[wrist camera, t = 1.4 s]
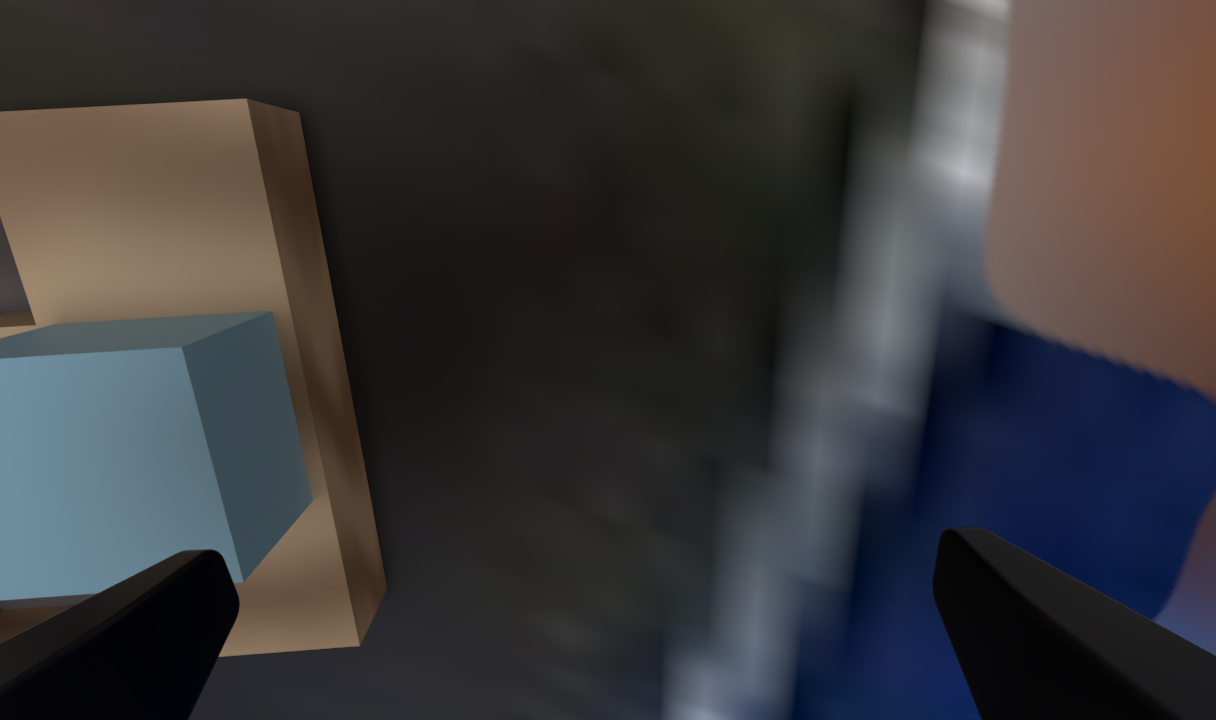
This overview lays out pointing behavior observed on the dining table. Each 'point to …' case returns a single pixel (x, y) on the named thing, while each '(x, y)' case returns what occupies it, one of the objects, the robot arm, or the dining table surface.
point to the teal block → (143, 449)
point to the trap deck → (201, 311)
